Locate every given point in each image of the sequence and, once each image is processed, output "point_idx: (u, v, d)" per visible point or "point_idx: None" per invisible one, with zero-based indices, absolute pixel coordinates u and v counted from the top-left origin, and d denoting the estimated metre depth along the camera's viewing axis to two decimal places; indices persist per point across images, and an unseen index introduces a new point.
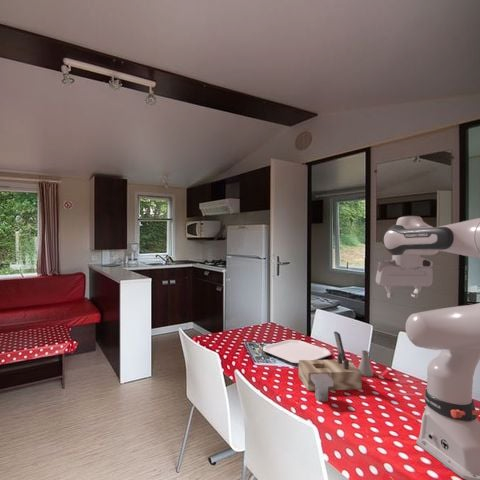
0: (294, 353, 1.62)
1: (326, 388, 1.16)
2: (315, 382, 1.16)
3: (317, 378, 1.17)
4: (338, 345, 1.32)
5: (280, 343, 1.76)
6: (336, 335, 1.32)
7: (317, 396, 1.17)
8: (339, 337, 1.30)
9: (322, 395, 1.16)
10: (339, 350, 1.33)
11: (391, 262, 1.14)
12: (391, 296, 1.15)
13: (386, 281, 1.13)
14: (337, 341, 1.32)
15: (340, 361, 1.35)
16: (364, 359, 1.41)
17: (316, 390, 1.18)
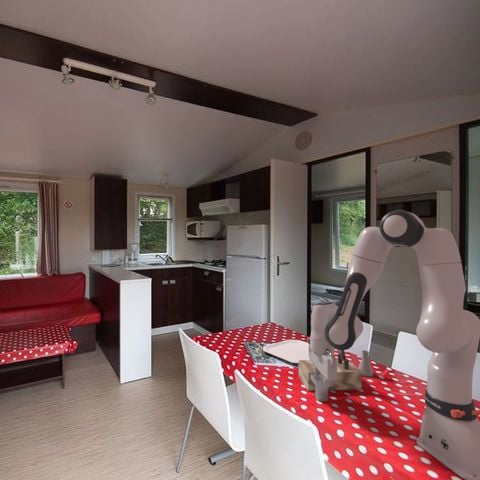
0: (294, 353, 1.62)
1: (326, 388, 1.16)
2: (315, 382, 1.16)
3: (317, 378, 1.17)
4: None
5: (280, 343, 1.76)
6: None
7: (317, 396, 1.17)
8: None
9: (322, 395, 1.16)
10: (339, 350, 1.33)
11: None
12: None
13: None
14: None
15: (340, 361, 1.35)
16: (364, 359, 1.41)
17: (316, 390, 1.18)
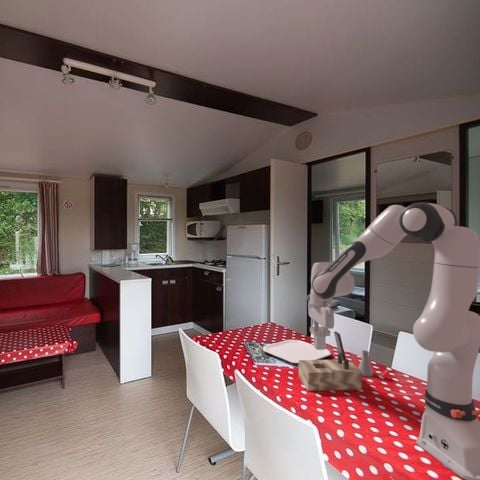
0: (294, 353, 1.62)
1: (324, 338, 1.29)
2: (314, 332, 1.28)
3: (315, 329, 1.30)
4: (338, 345, 1.32)
5: (280, 343, 1.76)
6: (336, 335, 1.32)
7: (315, 345, 1.30)
8: (339, 337, 1.30)
9: (320, 344, 1.29)
10: (339, 350, 1.33)
11: None
12: None
13: None
14: (337, 341, 1.32)
15: (340, 361, 1.35)
16: (364, 359, 1.41)
17: (315, 340, 1.31)
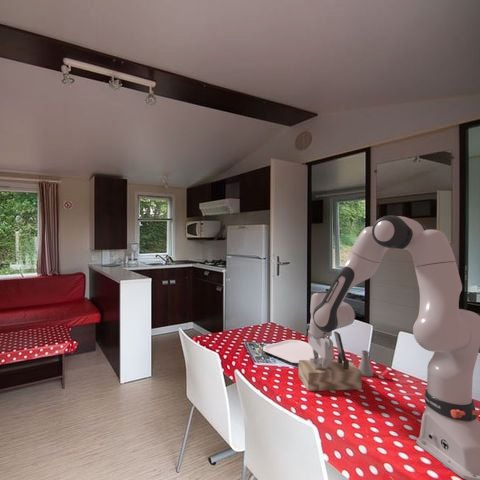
0: (294, 353, 1.62)
1: None
2: (314, 365, 1.29)
3: (315, 361, 1.31)
4: (338, 345, 1.32)
5: (280, 343, 1.76)
6: (336, 335, 1.32)
7: None
8: (339, 337, 1.30)
9: None
10: (339, 350, 1.33)
11: None
12: None
13: None
14: (337, 341, 1.32)
15: (340, 361, 1.35)
16: (364, 359, 1.41)
17: None
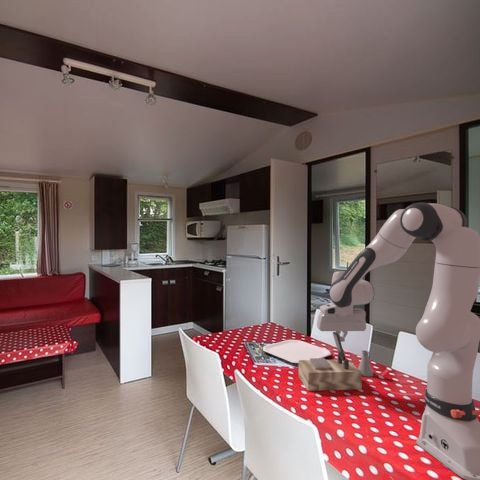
0: (294, 353, 1.62)
1: None
2: (314, 365, 1.29)
3: (315, 361, 1.31)
4: (337, 345, 1.32)
5: (280, 343, 1.76)
6: (335, 335, 1.32)
7: None
8: (338, 337, 1.30)
9: None
10: (339, 350, 1.33)
11: None
12: None
13: None
14: (336, 341, 1.32)
15: (340, 361, 1.35)
16: (364, 359, 1.41)
17: None
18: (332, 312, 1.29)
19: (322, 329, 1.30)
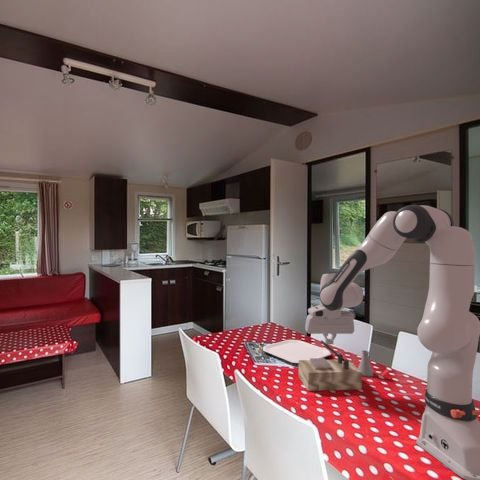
0: (294, 353, 1.62)
1: None
2: (314, 365, 1.29)
3: (315, 361, 1.31)
4: None
5: (280, 343, 1.76)
6: (323, 344, 1.31)
7: None
8: (326, 346, 1.30)
9: None
10: None
11: None
12: None
13: None
14: None
15: (340, 361, 1.35)
16: (364, 359, 1.41)
17: None
18: (320, 315, 1.28)
19: (310, 332, 1.29)
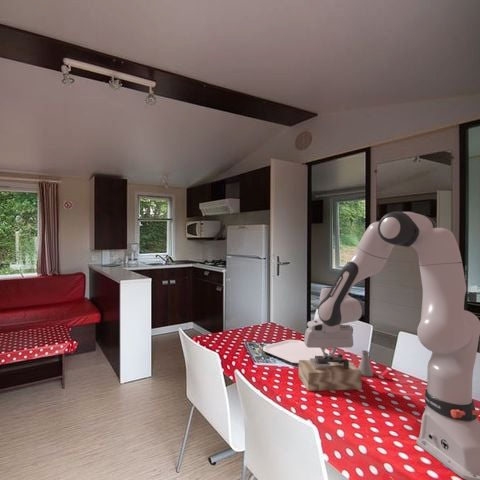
0: (294, 353, 1.62)
1: None
2: (314, 365, 1.29)
3: (315, 361, 1.31)
4: None
5: (280, 343, 1.76)
6: None
7: None
8: (321, 360, 1.29)
9: None
10: None
11: None
12: None
13: None
14: None
15: None
16: (364, 359, 1.41)
17: None
18: (319, 329, 1.28)
19: (309, 345, 1.29)
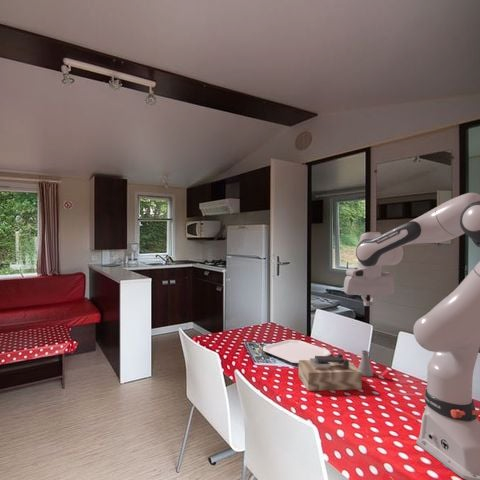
0: (294, 353, 1.62)
1: None
2: (314, 365, 1.29)
3: (315, 361, 1.31)
4: None
5: (280, 343, 1.76)
6: None
7: None
8: (321, 360, 1.29)
9: None
10: None
11: None
12: None
13: None
14: None
15: None
16: (364, 359, 1.41)
17: None
18: (360, 274, 1.25)
19: (350, 292, 1.26)
